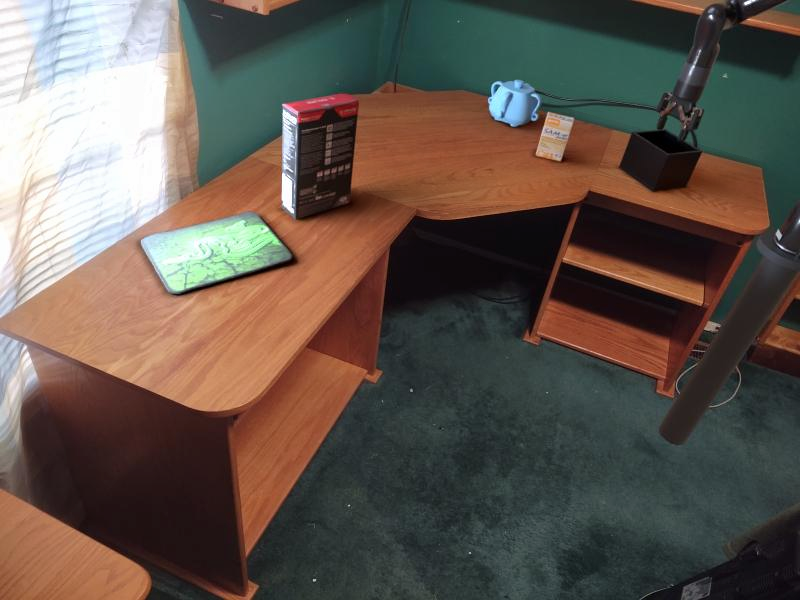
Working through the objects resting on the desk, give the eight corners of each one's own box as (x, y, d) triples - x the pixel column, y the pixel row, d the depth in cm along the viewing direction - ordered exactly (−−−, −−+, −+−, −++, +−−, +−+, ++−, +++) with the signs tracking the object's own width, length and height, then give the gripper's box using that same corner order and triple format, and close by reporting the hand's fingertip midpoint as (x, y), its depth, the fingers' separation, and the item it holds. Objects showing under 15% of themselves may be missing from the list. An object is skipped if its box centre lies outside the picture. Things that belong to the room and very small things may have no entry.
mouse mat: (170, 297, 117) (170, 293, 116) (137, 240, 130) (136, 236, 129) (296, 261, 131) (296, 257, 130) (254, 213, 144) (254, 209, 143)
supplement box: (534, 156, 187) (546, 116, 179) (536, 150, 191) (547, 110, 182) (561, 162, 186) (573, 122, 177) (562, 156, 189) (574, 116, 181)
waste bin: (686, 186, 182) (702, 151, 175) (652, 191, 177) (668, 155, 170) (651, 163, 193) (665, 128, 185) (618, 167, 188) (632, 132, 180)
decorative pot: (490, 126, 201) (499, 87, 193) (484, 108, 214) (492, 70, 205) (537, 131, 203) (547, 92, 194) (528, 113, 215) (538, 75, 206)
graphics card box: (336, 192, 156) (342, 89, 139) (353, 204, 152) (360, 99, 135) (280, 209, 146) (279, 101, 129) (296, 222, 143) (297, 113, 125)
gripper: (721, 89, 162) (696, 144, 173) (683, 70, 172) (662, 124, 182) (701, 90, 160) (677, 146, 170) (664, 71, 169) (643, 126, 180)
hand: (669, 135), depth 176 cm, fingers open, 8 cm apart
